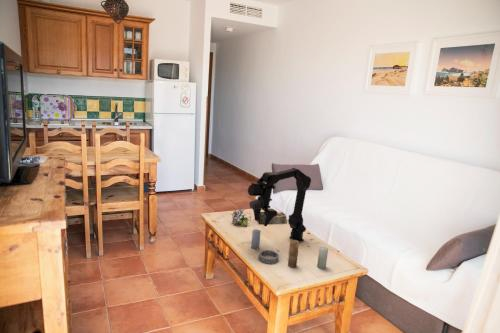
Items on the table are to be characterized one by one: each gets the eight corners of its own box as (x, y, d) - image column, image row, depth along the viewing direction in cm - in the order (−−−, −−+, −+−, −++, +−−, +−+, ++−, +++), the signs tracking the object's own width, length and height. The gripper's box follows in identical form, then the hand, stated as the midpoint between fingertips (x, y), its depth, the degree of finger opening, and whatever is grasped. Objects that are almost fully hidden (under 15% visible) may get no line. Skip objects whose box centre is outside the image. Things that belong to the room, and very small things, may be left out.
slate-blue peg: (257, 245, 196) (258, 229, 194) (260, 249, 192) (261, 232, 190) (250, 246, 194) (251, 229, 192) (253, 249, 190) (254, 232, 188)
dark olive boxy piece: (282, 218, 241) (283, 210, 240) (287, 224, 232) (288, 215, 231) (254, 219, 236) (255, 211, 235) (258, 225, 227) (259, 216, 226)
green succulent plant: (233, 231, 226) (228, 214, 229) (248, 226, 231) (242, 209, 234) (238, 228, 216) (232, 209, 219) (254, 223, 221) (247, 205, 224)
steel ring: (272, 253, 188) (273, 249, 187) (282, 262, 178) (282, 257, 178) (255, 255, 183) (255, 251, 183) (263, 265, 174) (264, 260, 174)
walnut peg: (293, 262, 179) (296, 239, 176) (298, 267, 175) (300, 243, 172) (286, 264, 177) (288, 240, 174) (290, 268, 173) (293, 244, 170)
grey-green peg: (322, 264, 179) (324, 246, 177) (327, 268, 176) (329, 250, 173) (315, 265, 178) (317, 247, 176) (320, 269, 174) (322, 251, 172)
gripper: (244, 190, 191) (239, 217, 193) (263, 200, 176) (257, 230, 178) (260, 191, 197) (255, 217, 200) (280, 201, 182) (274, 229, 184)
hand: (260, 223), depth 190 cm, fingers open, 9 cm apart
